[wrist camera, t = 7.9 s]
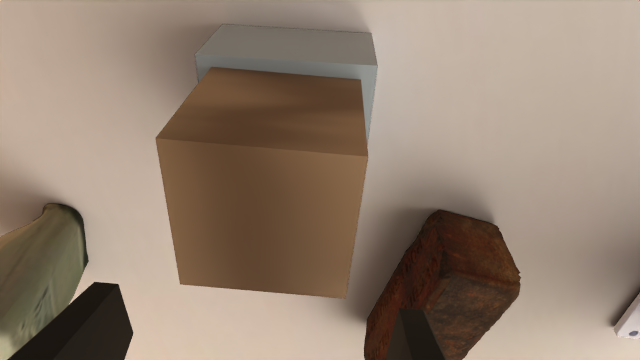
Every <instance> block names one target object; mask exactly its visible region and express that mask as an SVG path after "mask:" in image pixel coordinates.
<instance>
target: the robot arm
mask: <svg viewBox="0 0 640 360" xmlns="http://www.w3.org/2000/svg"><path fill="white" fill-rule="evenodd" d="M614 332H615V333H616V335H617V336H619V337H625V338H637V339H640V293H639V294H638V296H637V297H636V298H635V300H634V301H633V302H632V304H631V305H630V307H629V308H628V309H627V311H626V312H625V313H624V315H623V316H622V317H621V319H620V320H619V321H618V323H617V324H616V325H615V327H614ZM132 336H133V330H132V327H131V324H130V320H129V317H128V314H127V311H126V308H125V304H124V301H123V298H122V295H121V291H120V288H119V285H118V284H112V283H100V282H94V283H93V284H92V285H91V286H89V287H88V288H87V289H86V290H85V291H84V292H83V293H82V294H80V295H79V296H78V297H77V298H76V299H75V300H74V301H73V302H72V303H70V304H69V305H68V306H67V307H66V308H65V309H64V310H63V311H62V312H61V313H59V314H58V315H57V316H56V317H55V318H54V319H53V320H52V321H51V322H49V323H48V324H47V325H46V326H45V327H44V328H43V329H42V330H41V331H39V332H38V333H37V334H36V335H35V336H34V337H33V338H31V339H30V340H29V341H28V342H27V343H26V344H25V345H23V346H22V347H21V348H20V349H19V350H18V351H17V352H15V353H14V354H13V355H12V356H11V357H10V358H8V359H7V360H124V359H125V356H126V353H127V350H128V348H129V345H130V342H131V339H132ZM386 359H387V360H447V358H446V356H445V354H444V352H443V350H442V348H441V346H440V344H439V342H438V340H437V337H436V335H435V333H434V331H433V329H432V326H431V324H430V322H429V319H428V317H427V314H426V313H425V312H424V311H423V310H415V309H403V308H399V310H398V314H397V317H396V321H395V325H394V329H393V332H392V336H391V340H390V343H389V347H388V351H387V355H386Z"/></svg>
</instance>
